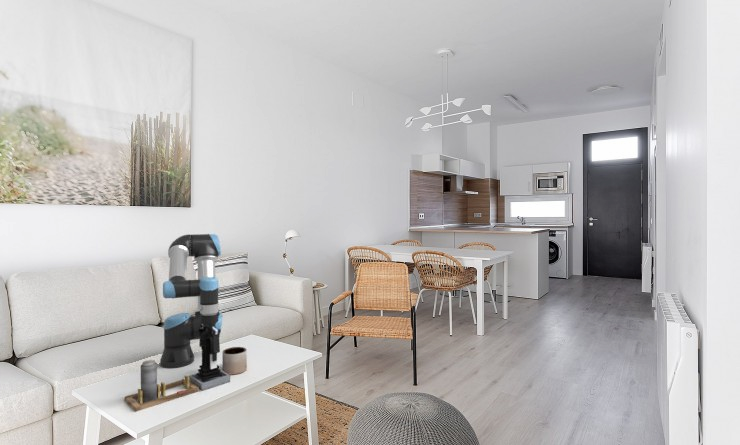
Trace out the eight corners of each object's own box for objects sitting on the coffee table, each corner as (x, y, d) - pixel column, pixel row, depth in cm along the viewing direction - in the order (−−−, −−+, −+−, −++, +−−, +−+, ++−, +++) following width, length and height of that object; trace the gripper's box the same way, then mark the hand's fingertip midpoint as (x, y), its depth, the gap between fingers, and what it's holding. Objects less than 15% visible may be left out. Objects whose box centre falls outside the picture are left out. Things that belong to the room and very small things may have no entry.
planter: (221, 376, 182) (221, 355, 182) (223, 367, 192) (223, 347, 192) (246, 374, 185) (246, 353, 185) (246, 365, 195) (246, 345, 195)
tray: (188, 382, 175) (188, 375, 175) (216, 374, 185) (216, 367, 185) (201, 391, 167) (201, 383, 167) (230, 381, 176) (230, 375, 176)
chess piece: (215, 370, 181) (215, 325, 181) (221, 375, 175) (222, 329, 175) (196, 374, 176) (196, 329, 176) (202, 380, 170) (203, 333, 170)
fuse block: (124, 400, 158) (123, 362, 158) (185, 382, 176) (185, 348, 175) (135, 411, 149) (135, 371, 149) (199, 391, 166) (198, 355, 166)
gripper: (190, 311, 179) (190, 362, 180) (211, 319, 166) (211, 374, 166) (207, 308, 185) (207, 358, 185) (228, 315, 171) (228, 369, 172)
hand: (209, 365), depth 176 cm, fingers closed on chess piece, 7 cm apart
